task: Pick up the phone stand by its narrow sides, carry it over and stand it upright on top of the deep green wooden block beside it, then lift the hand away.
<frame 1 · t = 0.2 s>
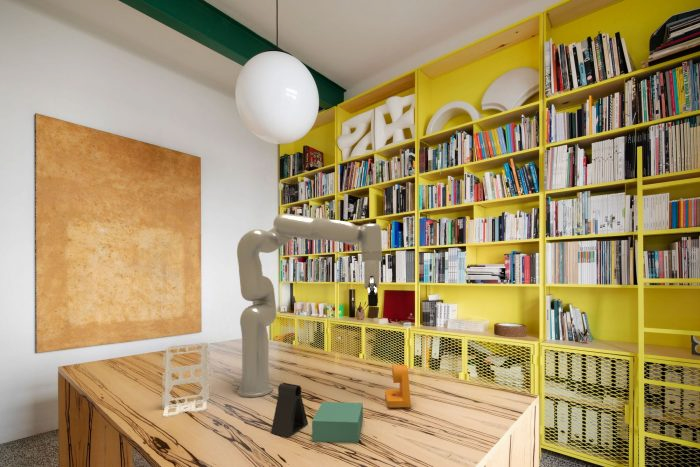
hand: (373, 304, 125), 31 cm above the table, tool pointing down, fingers open, 9 cm apart
green block: (339, 430, 95), on the table
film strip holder: (185, 407, 115), on the table
bracket: (397, 404, 114), on the table
phone stand: (289, 429, 97), on the table
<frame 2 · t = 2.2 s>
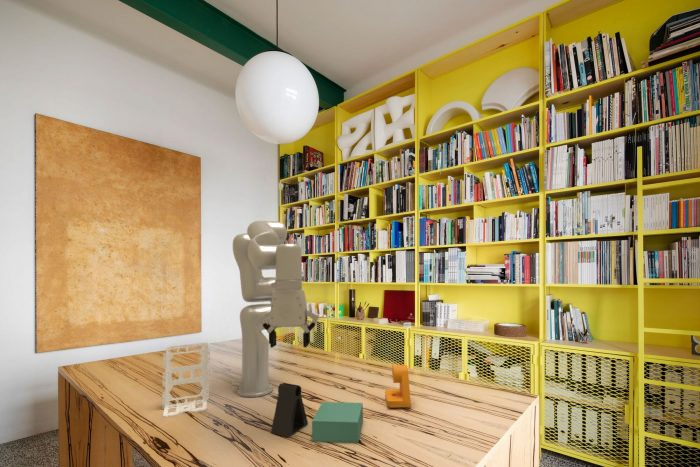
hand: (289, 346, 99), 23 cm above the table, tool pointing down, fingers open, 9 cm apart
nothing on the table moved.
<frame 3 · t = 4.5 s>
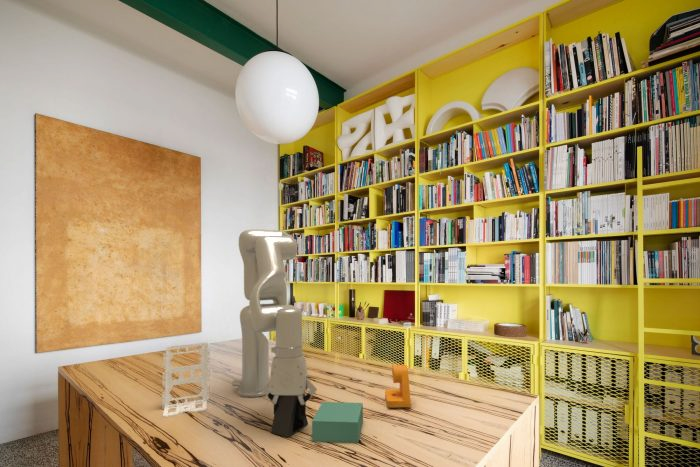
hand: (289, 417, 97), 3 cm above the table, tool pointing down, fingers closed on phone stand, 6 cm apart
phone stand: (289, 429, 97), on the table, touching gripper
everything else where it was.
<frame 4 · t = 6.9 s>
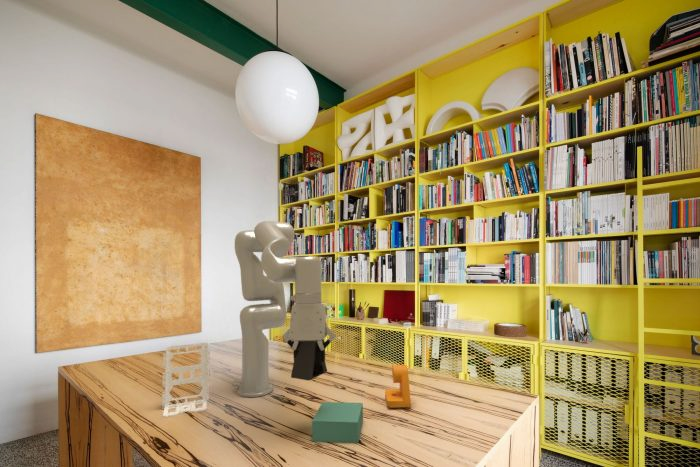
hand: (309, 363, 98), 18 cm above the table, tool pointing down, fingers closed on phone stand, 6 cm apart
phone stand: (309, 375, 98), point 14 cm above the table, touching gripper
everything else where it was.
when the fingers open (10 cm above the table, at t = 9.7 s): phone stand drops 2 cm, resting on green block.
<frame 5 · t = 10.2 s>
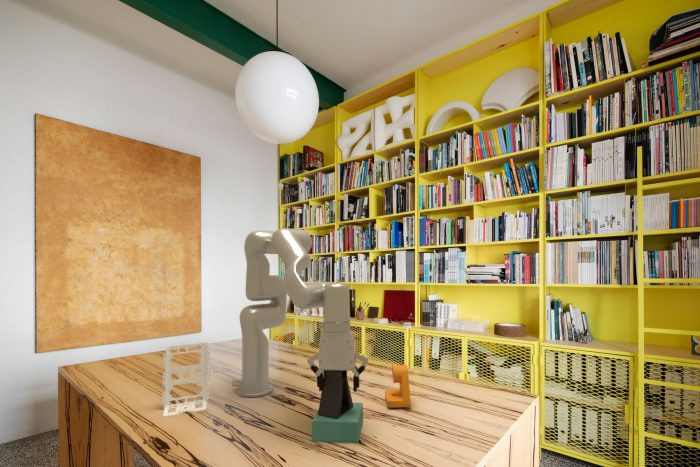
hand: (338, 389, 96), 11 cm above the table, tool pointing down, fingers open, 9 cm apart
phone stand: (336, 411, 96), point 5 cm above the table, touching green block
everything else where it was.
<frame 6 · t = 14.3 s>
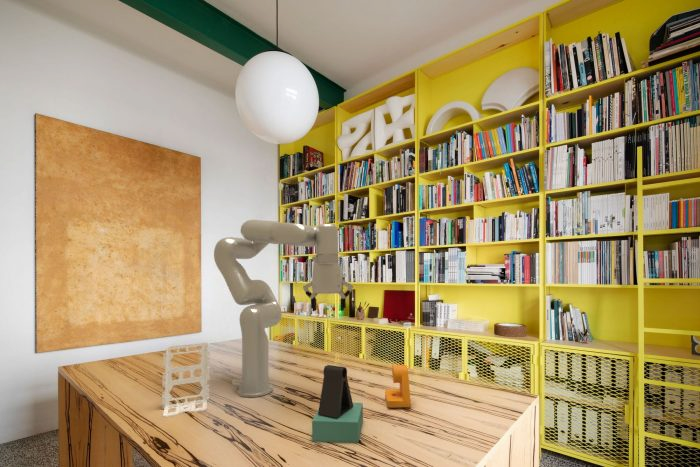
hand: (328, 310, 117), 30 cm above the table, tool pointing down, fingers open, 9 cm apart
nothing on the table moved.
at the end: phone stand inside the target area on the green block (0.8 cm from its centre), point 4.8 cm above the green block's base; phone stand tilted 0°; phone stand touching green block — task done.
